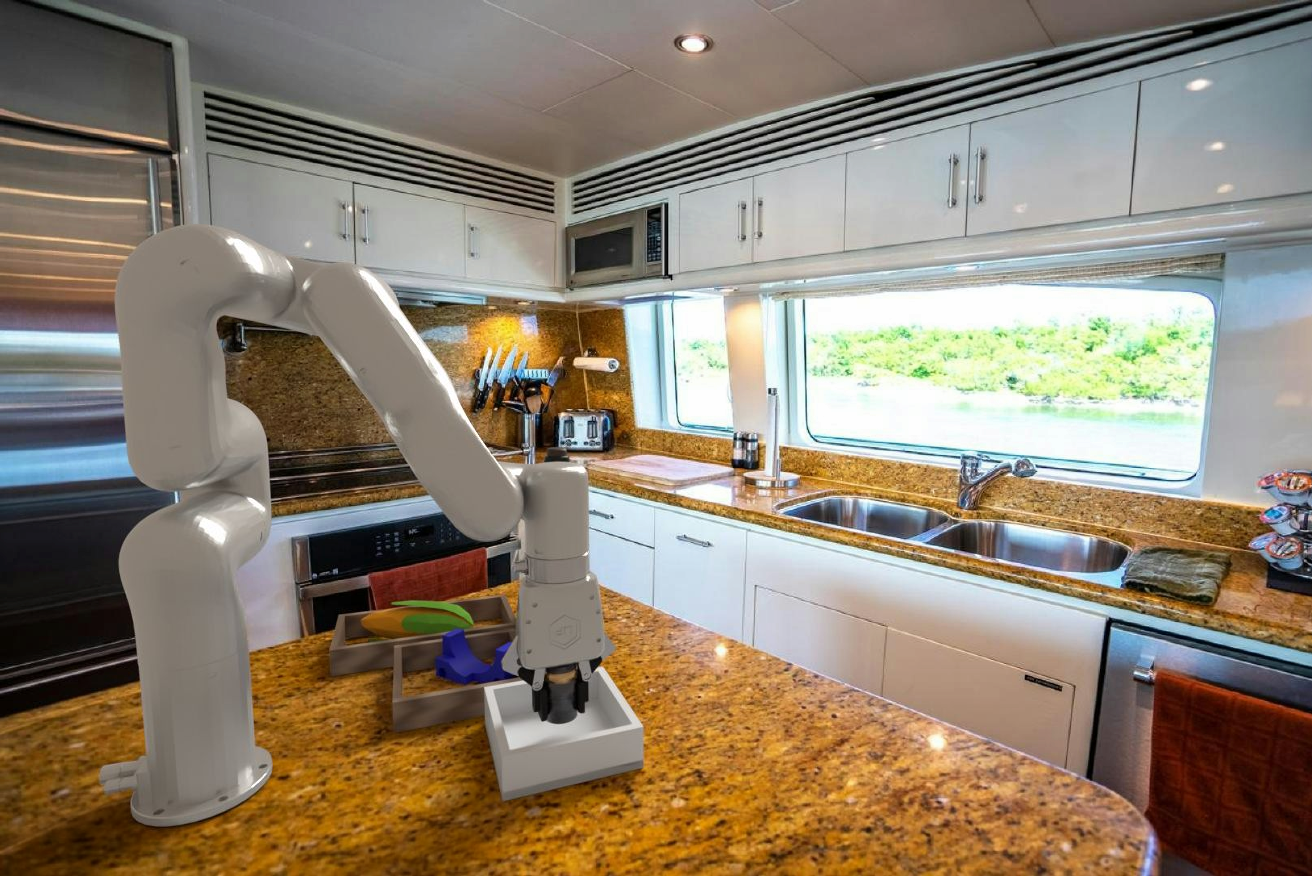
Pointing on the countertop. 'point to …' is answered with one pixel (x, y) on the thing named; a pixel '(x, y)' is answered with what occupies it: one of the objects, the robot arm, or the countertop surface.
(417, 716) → the brown hollow square frame
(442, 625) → the corn
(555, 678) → the battery cell
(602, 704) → the bin
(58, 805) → the countertop surface
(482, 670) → the cable clip
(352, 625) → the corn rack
